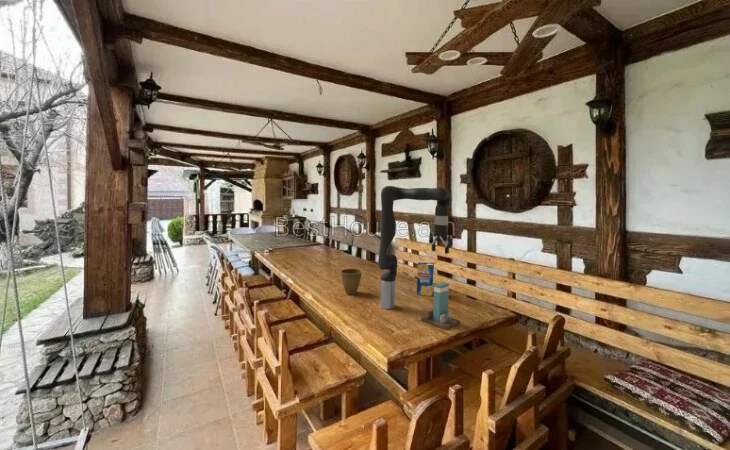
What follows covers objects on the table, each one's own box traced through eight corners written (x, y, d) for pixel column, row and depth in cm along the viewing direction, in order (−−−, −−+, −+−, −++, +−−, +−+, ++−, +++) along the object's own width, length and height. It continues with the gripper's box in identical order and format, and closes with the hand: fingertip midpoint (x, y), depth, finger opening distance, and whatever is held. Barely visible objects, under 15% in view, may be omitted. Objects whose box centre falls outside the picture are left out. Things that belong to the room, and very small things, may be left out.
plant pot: (338, 291, 228) (338, 269, 227) (357, 289, 233) (357, 267, 232) (344, 297, 214) (344, 274, 213) (364, 295, 220) (364, 272, 218)
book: (441, 316, 179) (442, 282, 178) (447, 318, 176) (449, 283, 174) (432, 319, 174) (434, 284, 172) (438, 322, 171) (440, 286, 169)
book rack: (435, 314, 186) (436, 304, 185) (459, 323, 174) (460, 312, 173) (420, 320, 177) (421, 310, 176) (444, 330, 165) (445, 318, 164)
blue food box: (432, 296, 220) (433, 265, 218) (416, 294, 223) (417, 264, 221) (433, 293, 226) (434, 263, 224) (417, 291, 229) (418, 262, 227)
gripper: (426, 223, 179) (425, 251, 181) (448, 225, 168) (446, 255, 170) (434, 222, 184) (433, 249, 185) (456, 224, 173) (454, 253, 175)
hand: (440, 252), depth 178 cm, fingers open, 8 cm apart
